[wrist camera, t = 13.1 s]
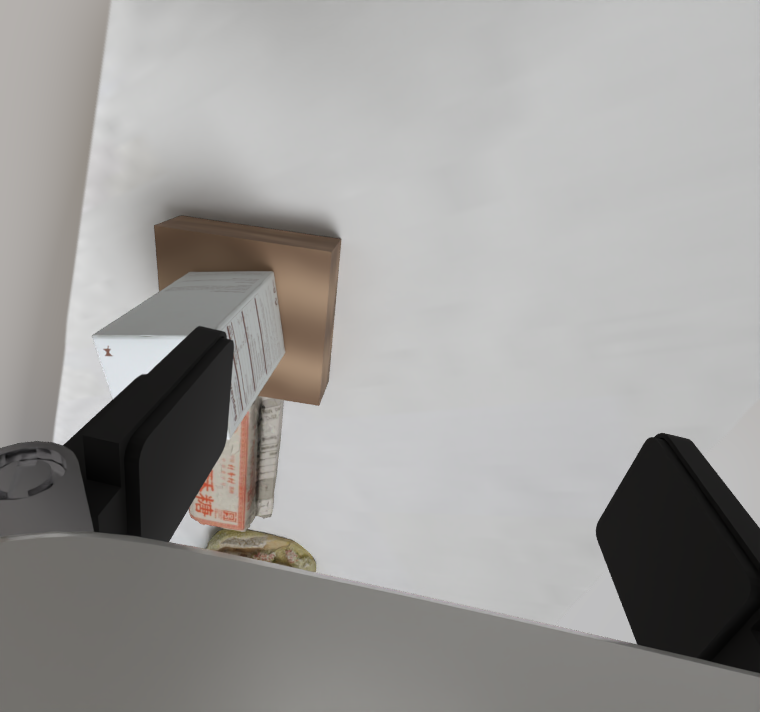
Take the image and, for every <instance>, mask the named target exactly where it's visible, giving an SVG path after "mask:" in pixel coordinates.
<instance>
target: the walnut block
mask: <svg viewBox="0 0 760 712" xmlns="http://www.w3.org/2000/svg"><path fill="white" fill-rule="evenodd" d="M154 231H155V243H156V256H157V268H158V281H159V292H160V291H161V290H163V289H164V288H166V287H167V286H169V285H170V284H172V283H173V282H175V281H176V280H178V279H180V278H181V277H183V276H184V275H186V274H187V273H188V272H228V271H273V272H274V277H275V285H276V291H277V298H278V305H279V312H280V319H281V326H282V333H283V340H284V348H285V354H284V356H283V357H282V359H281V360H280V362H279V364H278V365H277V367H276V368H275V370H274V371H273V373H272V374H271V376H270V377H269V379H268V381H267V382H266V384H265V385H264V387H263V388H262V390H261V391H260V393H259V395H258V396H261V397H268V398H274V399H280V400H287V401H293V402H299V403H306V404H312V405H318V406H319V405H320V402H321V399H322V397H323V394H324V392H325V389H326V387H327V384H328V382H329V371H330V360H331V349H332V338H333V327H334V315H335V304H336V293H337V282H338V271H339V260H340V248H341V239H338V238H331V237H324V236H317V235H310V234H304V233H297V232H290V231H283V230H276V229H270V228H263V227H256V226H249V225H242V224H236V223H229V222H222V221H215V220H208V219H202V218H195V217H188V216H178V217H175V218H173V219H170V220H167V221H165V222H162V223H159V224H157V225H154Z"/></svg>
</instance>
